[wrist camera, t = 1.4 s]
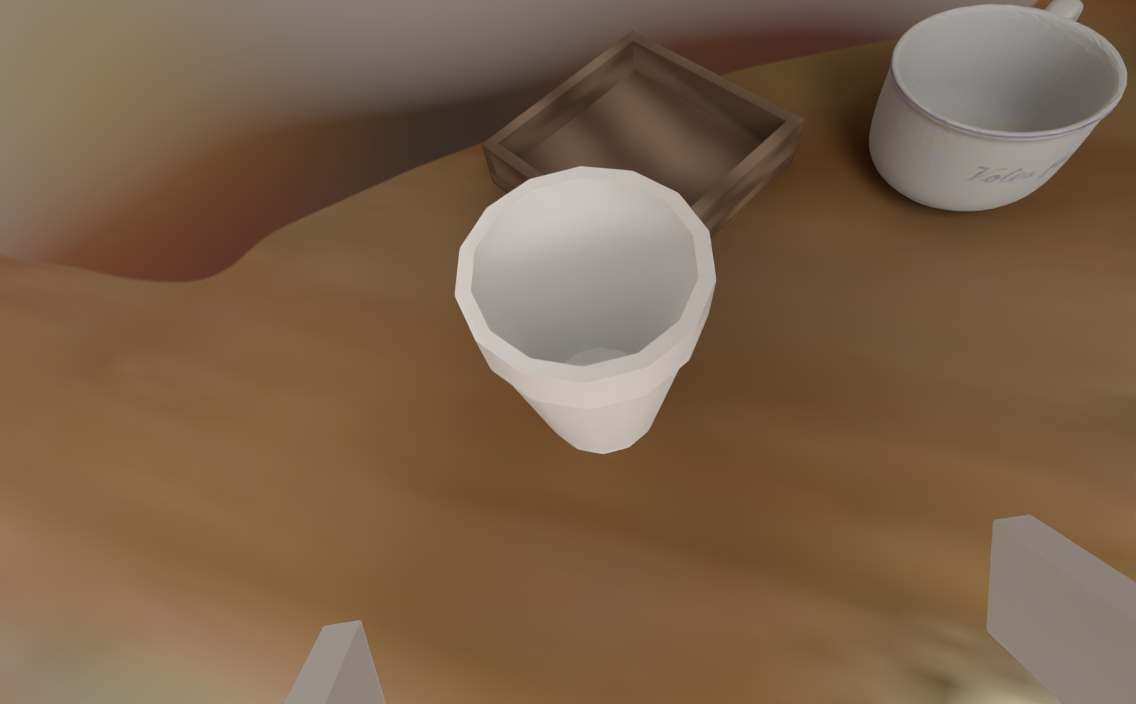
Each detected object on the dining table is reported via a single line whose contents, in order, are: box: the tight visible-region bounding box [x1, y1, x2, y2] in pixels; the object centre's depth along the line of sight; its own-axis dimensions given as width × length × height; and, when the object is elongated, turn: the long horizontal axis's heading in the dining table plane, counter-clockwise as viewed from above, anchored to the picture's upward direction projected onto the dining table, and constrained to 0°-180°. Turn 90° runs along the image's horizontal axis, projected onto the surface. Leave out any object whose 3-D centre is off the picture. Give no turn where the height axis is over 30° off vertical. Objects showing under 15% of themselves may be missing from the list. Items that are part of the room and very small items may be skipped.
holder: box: [482, 31, 805, 237], centre depth 38 cm, size 15×15×4 cm
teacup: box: [869, 0, 1127, 211], centre depth 33 cm, size 14×11×8 cm
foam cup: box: [455, 166, 716, 454], centre depth 26 cm, size 10×9×13 cm
